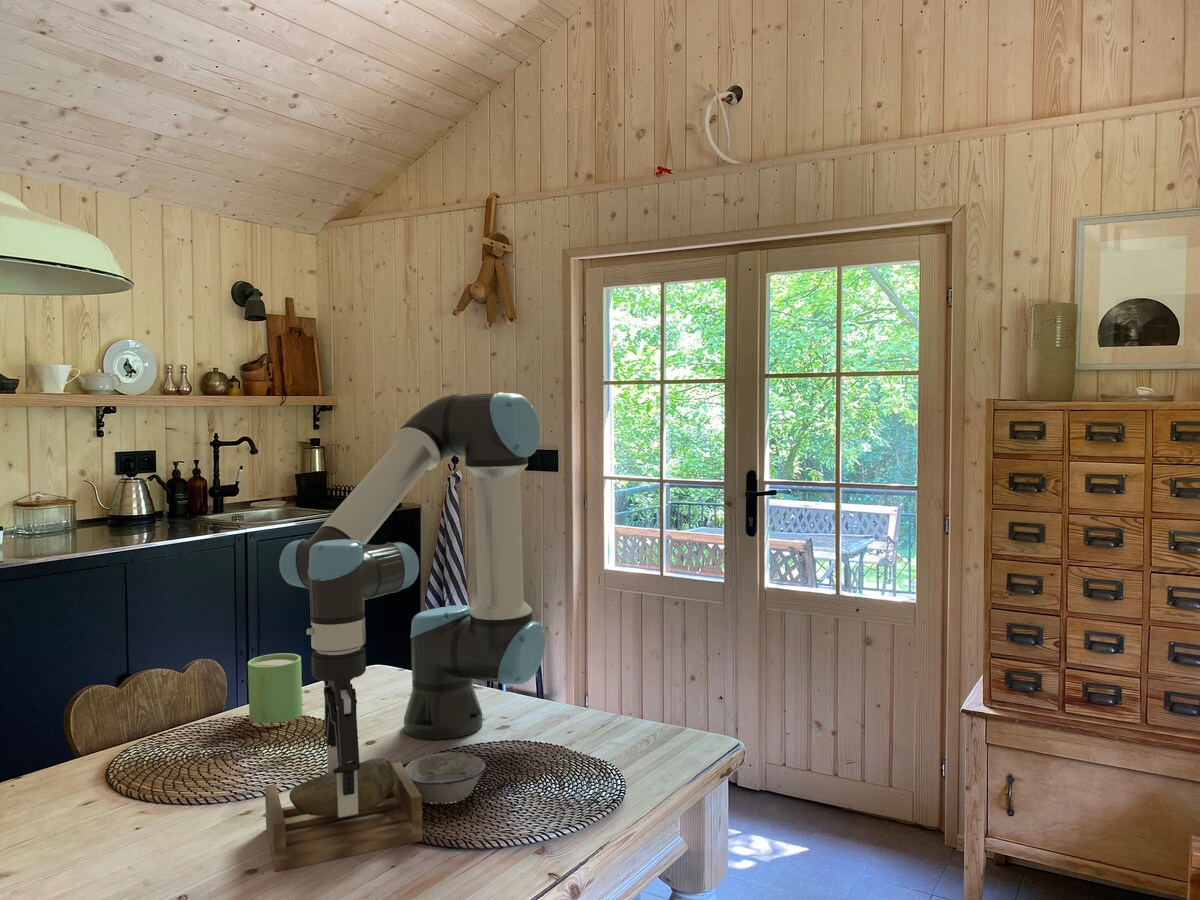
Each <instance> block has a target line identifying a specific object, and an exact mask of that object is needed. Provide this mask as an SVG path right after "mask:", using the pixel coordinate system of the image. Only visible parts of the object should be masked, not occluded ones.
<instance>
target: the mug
mask: <svg viewBox="0 0 1200 900" xmlns="http://www.w3.org/2000/svg"><path fill="white" fill-rule="evenodd" d="M247 678H248V679H247V680H246V681H245V682H246V683H245V685H248V697H247V698H248V710H249V711H248V713H249V714H248V715H249V716H248V717H249V722H250V721H252V722H255V723H266V724H267V723H279V722H285V721H290V720H293V719H295V718H298V717H299V716H303V690H302V689H303V682H302V681H303V680H302V656H301V655H299V654H296V653H286V652H284V653H282V652H281V653H271V654H266V655H265V654H264V655H260V656H257V657H254V658H251V659H250V660H248V662H247Z"/></svg>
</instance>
